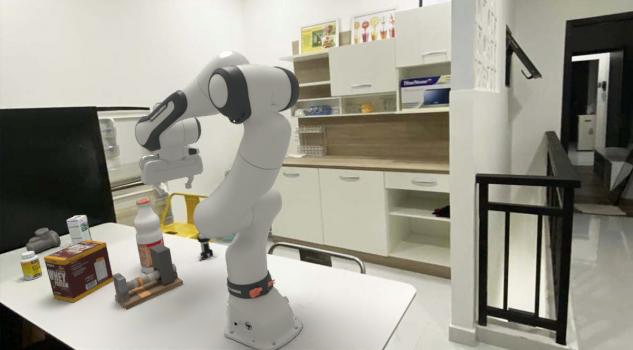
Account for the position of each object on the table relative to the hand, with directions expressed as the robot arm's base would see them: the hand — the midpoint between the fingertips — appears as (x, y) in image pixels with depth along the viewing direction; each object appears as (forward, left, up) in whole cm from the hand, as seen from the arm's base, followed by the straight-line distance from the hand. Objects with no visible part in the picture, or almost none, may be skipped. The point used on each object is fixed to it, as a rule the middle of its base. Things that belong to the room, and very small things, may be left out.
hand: (175, 191), depth 119 cm
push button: (+13, -14, -34) cm, 39 cm away
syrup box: (+76, +14, -34) cm, 84 cm away
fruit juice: (+22, +3, -34) cm, 40 cm away
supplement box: (+27, +26, -34) cm, 50 cm away
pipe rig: (+5, +12, -34) cm, 36 cm away
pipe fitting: (+87, +27, -34) cm, 97 cm away
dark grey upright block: (+5, +7, -31) cm, 33 cm away
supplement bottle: (+56, +36, -34) cm, 75 cm away
